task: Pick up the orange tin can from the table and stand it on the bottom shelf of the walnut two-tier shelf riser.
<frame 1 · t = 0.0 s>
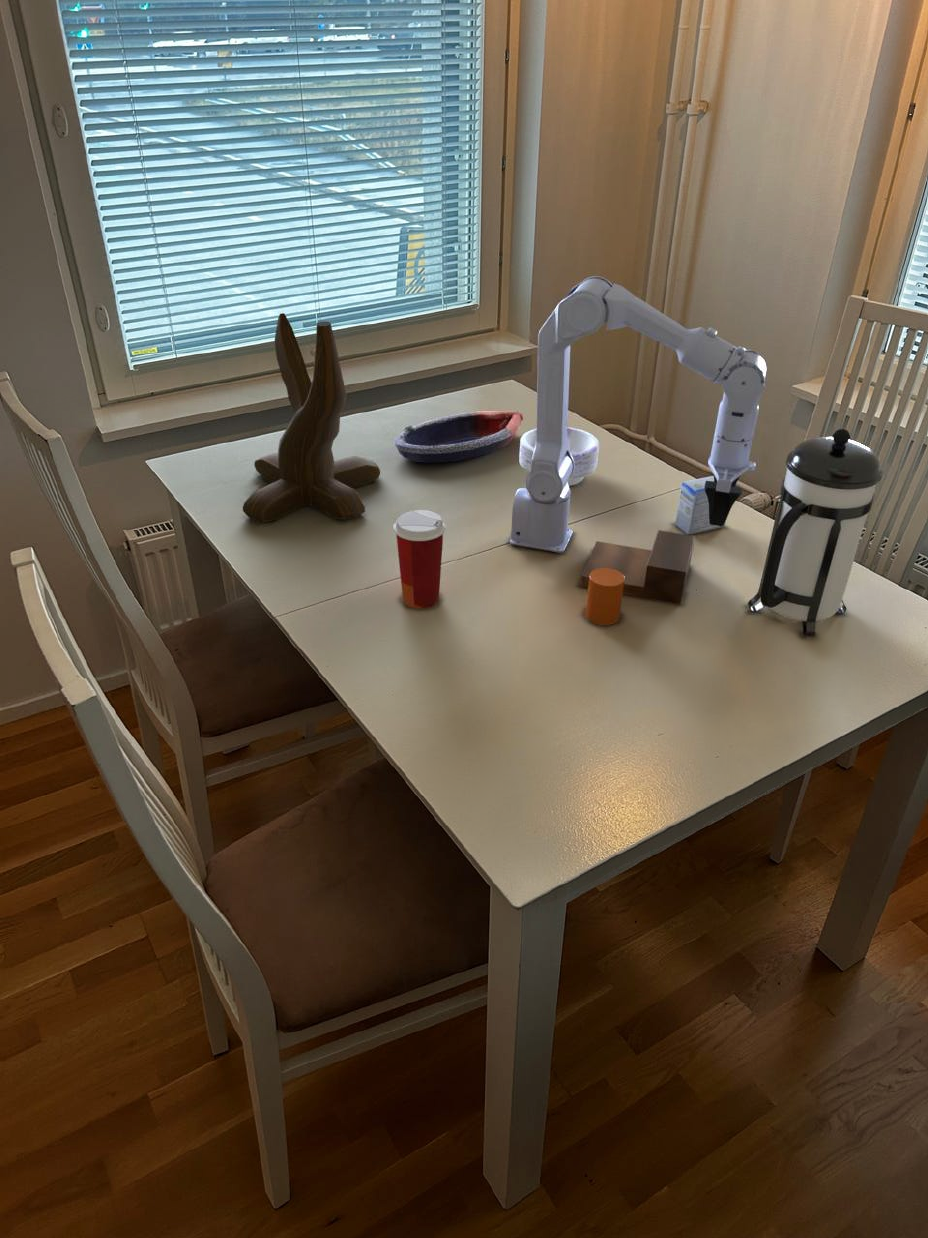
hand: (718, 513, 147), 10 cm above the table, tool pointing down, fingers open, 7 cm apart
dish: (462, 448, 192), on the table
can: (602, 615, 141), on the table
wooden stand: (309, 493, 174), on the table
medicine box: (699, 527, 165), on the table
paper cup: (420, 600, 144), on the table
paper bowls: (556, 478, 181), on the table
coffee press: (793, 615, 142), on the table
shelf riser: (635, 576, 150), on the table
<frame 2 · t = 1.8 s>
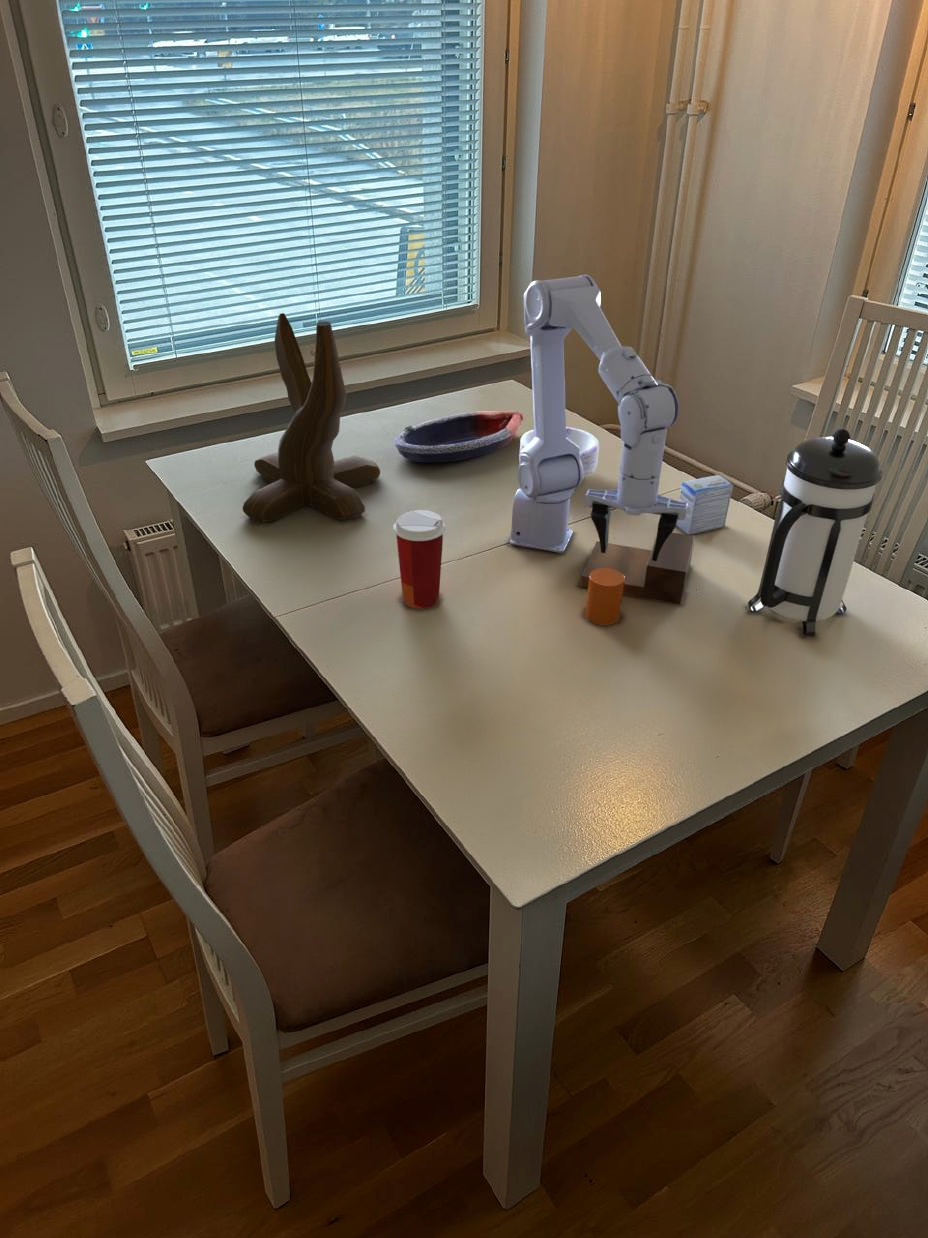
hand: (629, 553, 138), 10 cm above the table, tool pointing down, fingers open, 7 cm apart
nothing on the table moved.
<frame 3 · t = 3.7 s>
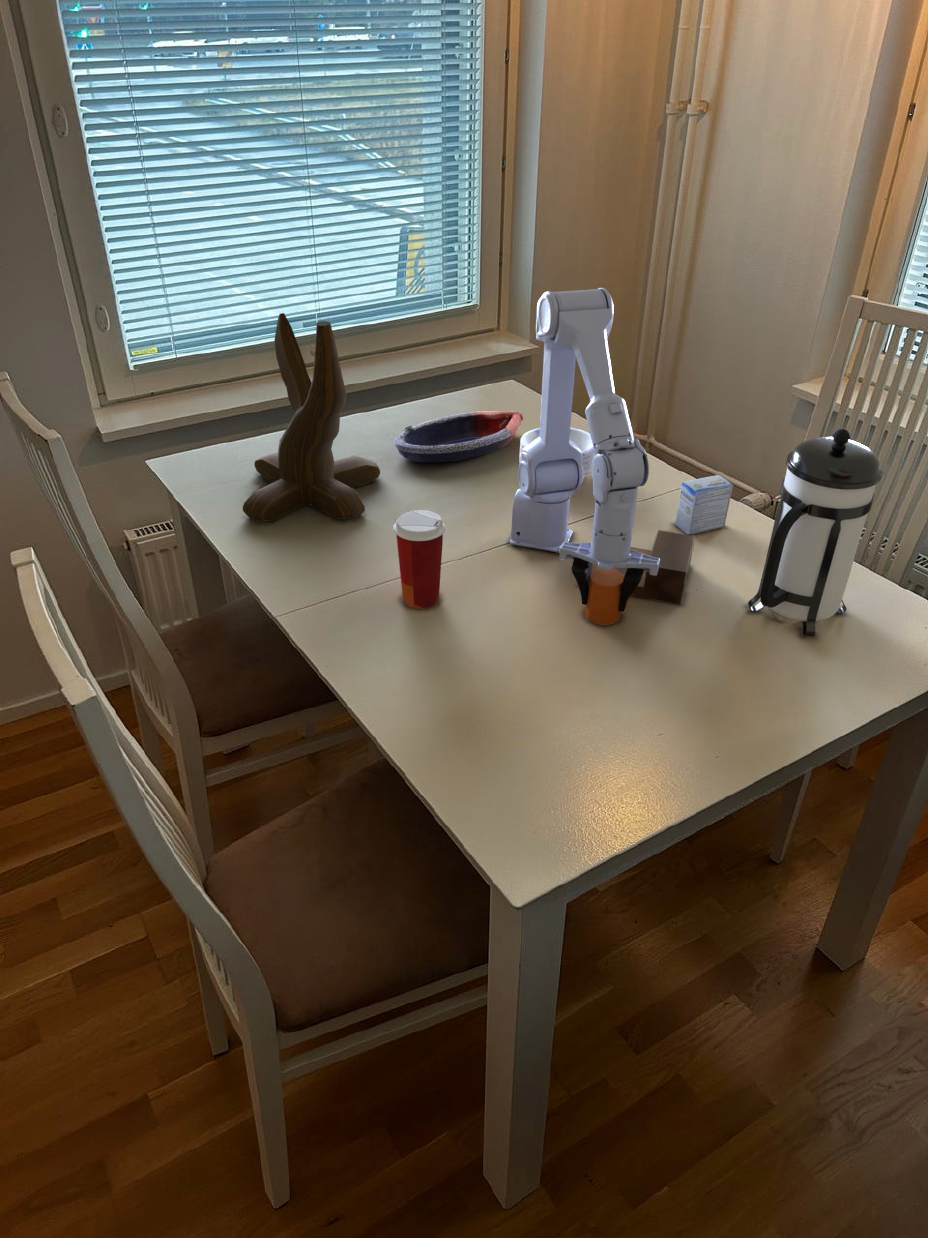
hand: (603, 605, 140), 2 cm above the table, tool pointing down, fingers closed on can, 5 cm apart
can: (602, 615, 141), on the table, touching gripper
everything else where it was.
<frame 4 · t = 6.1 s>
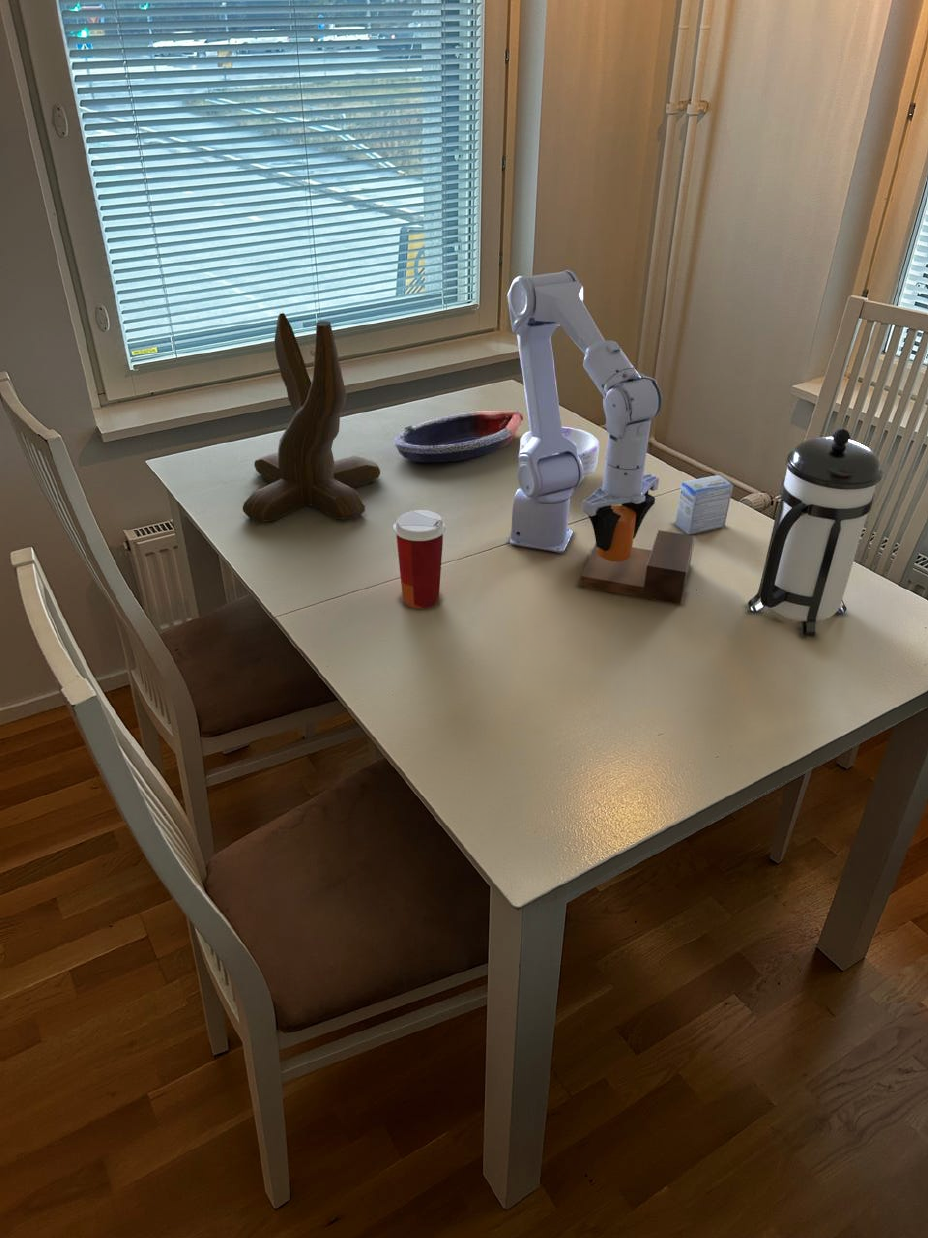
hand: (615, 542, 142), 9 cm above the table, tool pointing down, fingers closed on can, 5 cm apart
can: (614, 553, 143), point 7 cm above the table, touching gripper
everything else where it was.
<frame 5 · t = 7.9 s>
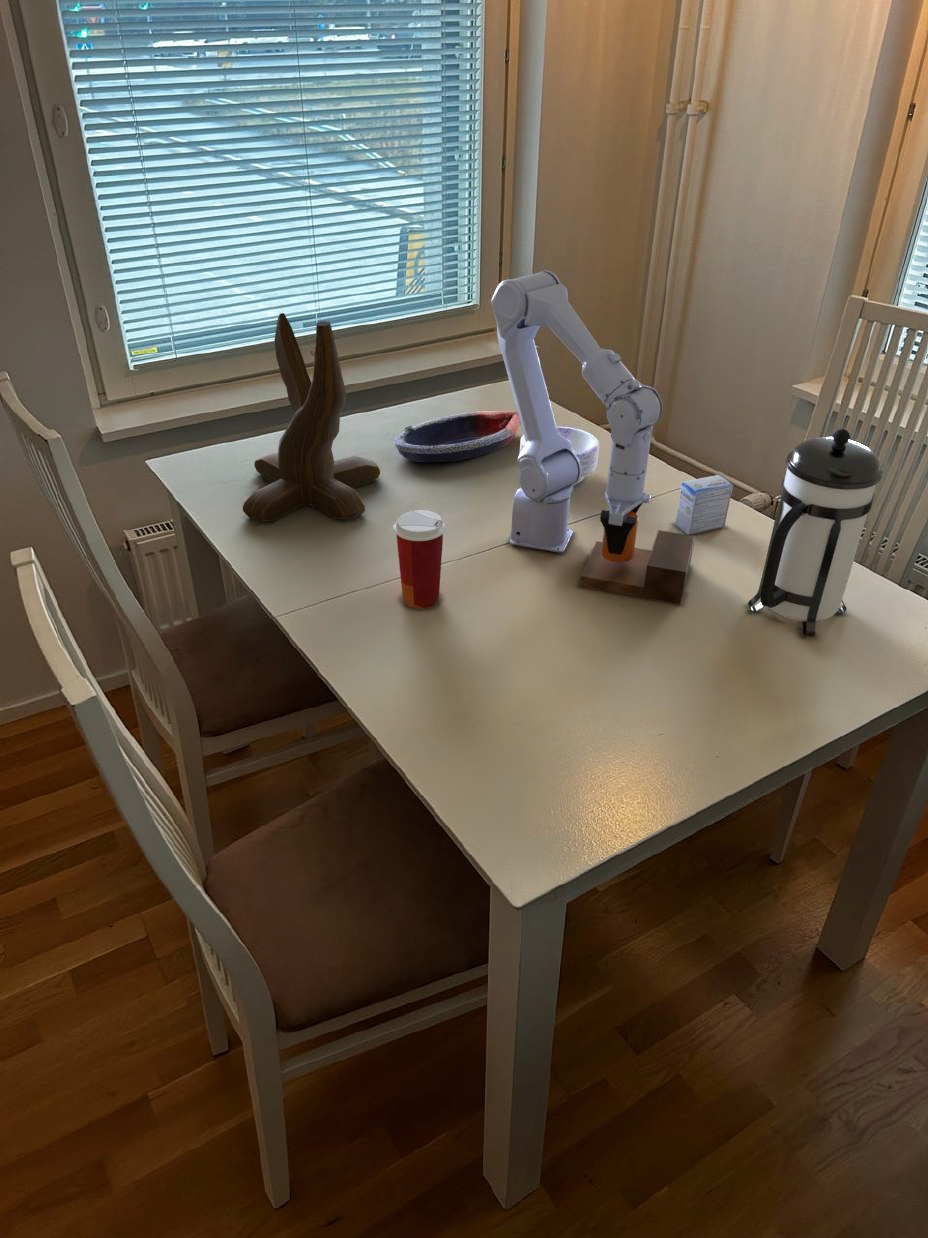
hand: (618, 544, 148), 5 cm above the table, tool pointing down, fingers closed on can, 5 cm apart
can: (617, 554, 149), point 4 cm above the table, touching gripper
everything else where it was.
when the fingers open (4 cm above the table, at t = 8.9 s): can stays where it is, resting on shelf riser.
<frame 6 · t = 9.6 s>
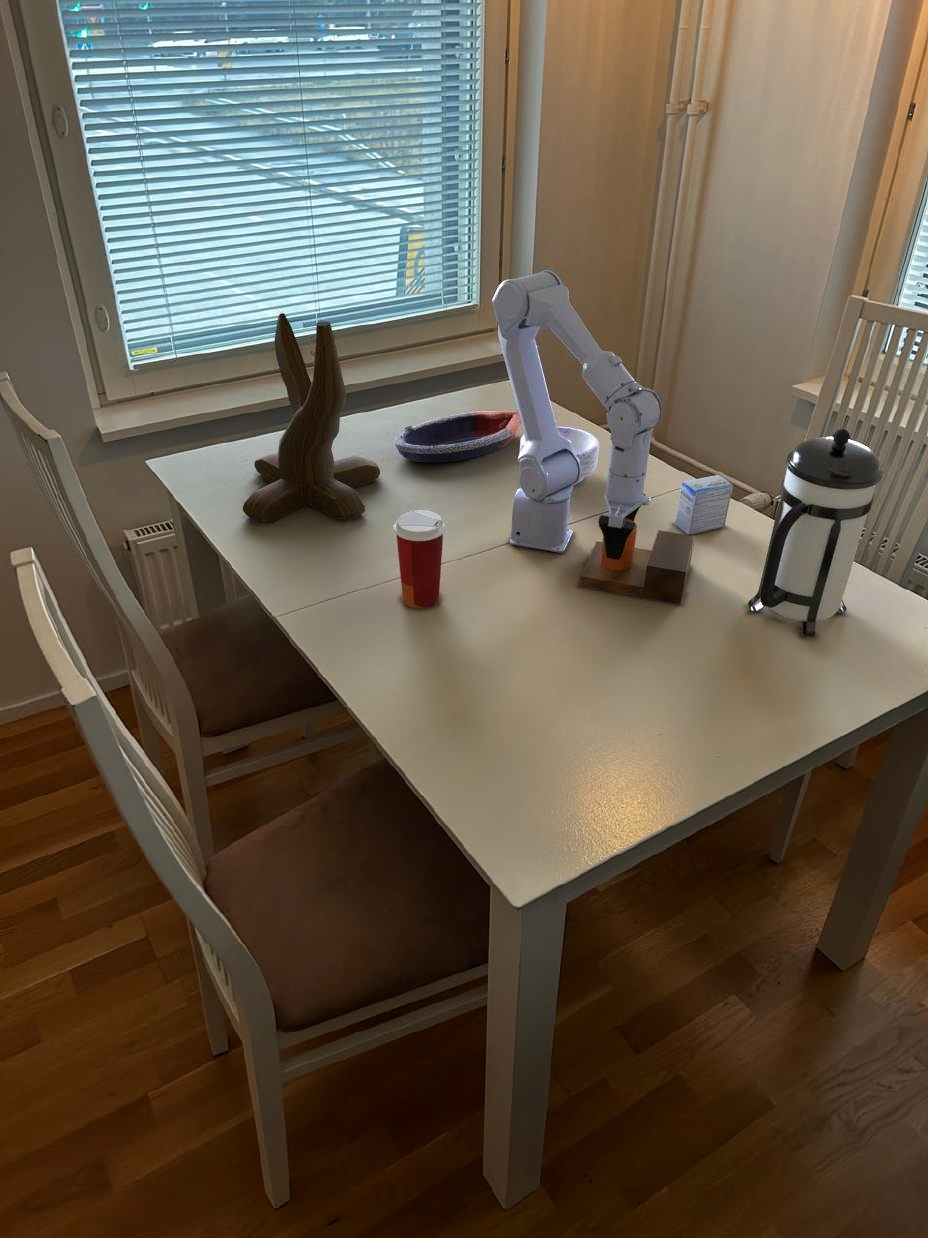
hand: (617, 546, 148), 5 cm above the table, tool pointing down, fingers open, 7 cm apart
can: (616, 562, 150), point 2 cm above the table, touching shelf riser
everything else where it was.
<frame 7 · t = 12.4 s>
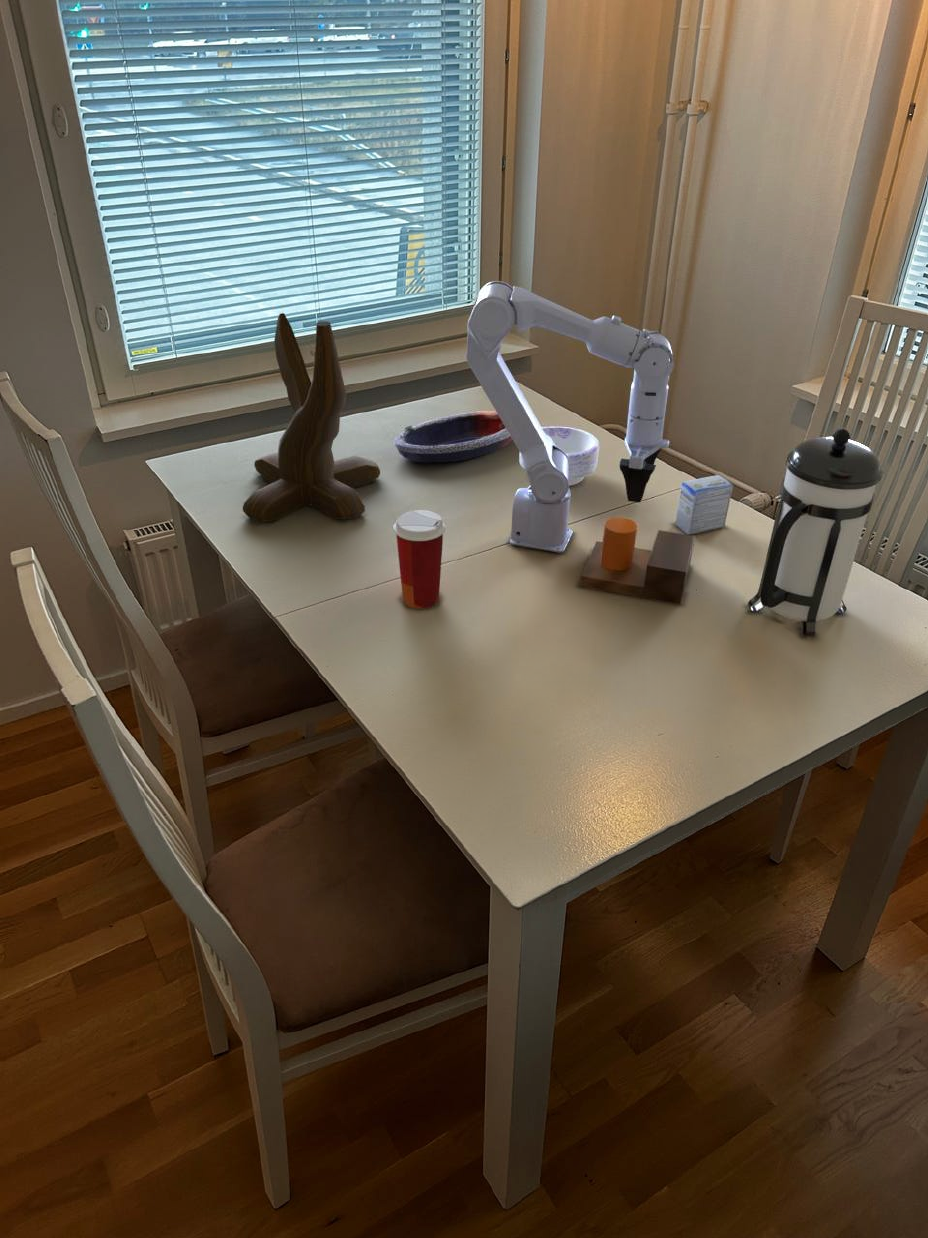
hand: (638, 490, 153), 10 cm above the table, tool pointing down, fingers open, 7 cm apart
nothing on the table moved.
at the end: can inside the target area on the shelf riser (0.8 cm from its centre), point 2.0 cm above the shelf riser's base; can tilted 0°; the gripper is holding nothing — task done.
